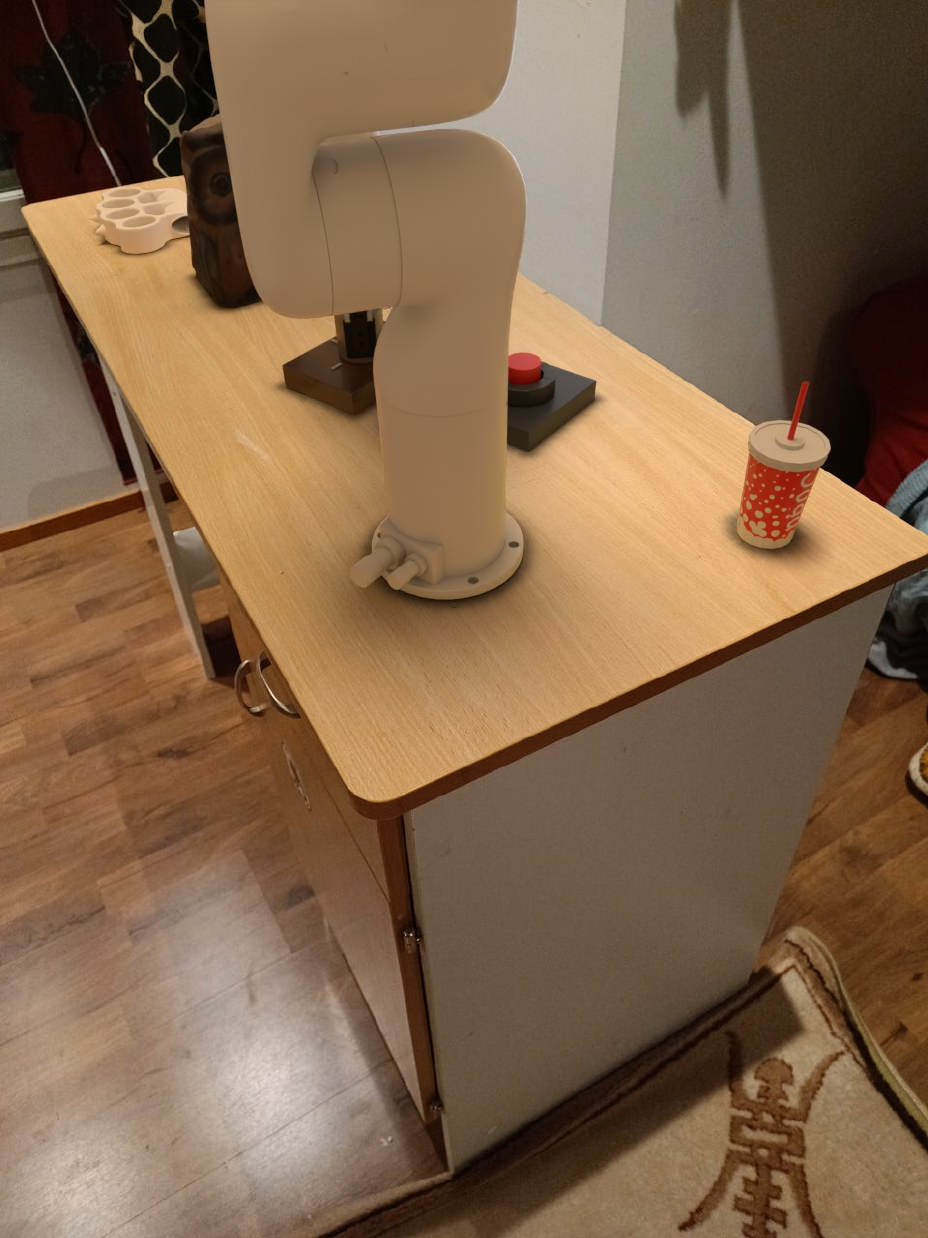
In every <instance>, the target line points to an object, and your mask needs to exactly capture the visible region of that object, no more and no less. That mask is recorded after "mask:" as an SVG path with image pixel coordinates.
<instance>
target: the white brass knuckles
mask: <svg viewBox="0 0 928 1238" xmlns="http://www.w3.org/2000/svg"><path fill="white" fill-rule="evenodd" d="M88 220H90V221H93V222H94V223H97V224H99V225H100V226H99V227H98V228H97V229H96V230H95V231H94V232H93V234H94V235H100V236H104V239H105V241H107V242H108V243H110V244H111V245H115V246H119V247H120V251H121V252H123V253H125V254H131V255H141V254H149V253H152V252H155V251H158V250H160V249H162V248H163V247H164V246H165V244H166V243H167V242H169V241H171V240H174V239H179V238H185V237H188V236H190V234H189V224H188V215H187V192H186V191H183V190H181V189H179V188H177V187H175V188H173V187H163V188H157V189H143V188H142V187H138V186H121V187H115V188H112V189H108V190H106V191H104V192H102V194H101V201H100V202H98V203H97V205H96V207H95V214H92V216H91V217H89V218H88Z"/></svg>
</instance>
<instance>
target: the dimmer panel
mask: <svg viewBox="0 0 928 1238" xmlns="http://www.w3.org/2000/svg"><path fill="white" fill-rule="evenodd" d="M385 321H386V320H383V325H384V323H385ZM281 367H282V373H283V379H284V385H285V388H289V389H290V390H293V391H295V392H298V393H301V394H302V395H305V396H308V397H310V398H312V399H314V400H317V401H319V402H321V403H324V404H326V405H329V406H331V407H334V408H335V409H338V410H341V411H343V412H345V413H348V414H350V415H352V416H356V415H357V414H359V413H361V412H362V411H364V410H365V409H367V408H368V407H370V406H372V405H373V404H375V403H376V392H375V386H374V375H373V361H372V362H368V363H351V362H347V361H345V360H343V359H342V358H341V357H340V356H339V352H338V344H337V336H336V335H335V336H333V337H331V338H329V339H328V340H326V341H324V342H322V343H320V344H319V345H316V346H315V347H313V348H311V349H310V350H307V351H305V352H304V353H302V354H300V355H298V356H296V357H294V358H293V359H290V360H289V361H287V362H285V363H284V364H282V365H281Z"/></svg>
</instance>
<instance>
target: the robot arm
mask: <svg viewBox="0 0 928 1238" xmlns="http://www.w3.org/2000/svg"><path fill="white" fill-rule="evenodd" d="M520 1H521V0H204V1H203V2H204V13H205V14H204V15H205V25H206V33H207V34H206V35H207V40H208V48H209V56H210V57H209V58H210V63H211V64H210V65H211V71H212V75H213V81H214V87H215V92H216V93H215V94H216V98H217V99H216V100H217V105H218V111H219V114H220V117H221V122H222V128H223V134H224V140H225V146H226V152H227V157H228V163H229V169H230V175H231V181H232V187H233V192H234V198H235V204H236V210H237V216H238V222H239V228H240V233H241V238H242V244H243V249H244V254H245V258H246V262H247V265H248V269H249V272H250V275H251V278H252V281H253V283H254V286H255V288H256V290H257V292H258V294H259V296H260V297H261V299H262V300H261V301H262V302H263V303H264V304H265V306H266V307H268V308H269V309H270V310H271V311H272V312H274V313H275V314H277V315H279V316H281V317H284V318H287V319H295V320H307V319H308V320H309V319H319V318H325V317H332V316H333V317H334V315H341V314H344V316H345V320H343V328H344V336H345V344H346V352H347V357H348V358H349V359H355V358H368V357H374V360H373V375H374V386H375V392H376V402H375V403H376V412H377V421H378V430H379V431H378V432H379V433H378V434H379V440H380V450H381V451H380V452H381V462H382V471H383V482H384V491H385V492H384V493H385V502H386V503H385V504H386V510H387V511H386V512H387V516H385V517H384V518H383V520H381V522H379V524H378V526H377V527H376V529H375V531H374V532H373V536H372V539H371V553H370V554H368V555H364V557H362V558H361V559H360V560H358V561H357V562H356V563H354V564H353V565H352V566H351V567H350V568H349V570H348V571H349V576H350V578H351V581H353V582H354V584H355V585H356V586H357V587H359V588H361V589H366V588H367V587H369V586H370V585H371V584H372V583H373V582H375V581H376V580H377V579H379V578H380V577H382V578H383V579H384V580H385V581H386V582H387V583H388V585H389V586H390V587H391V588H392V589H394V590H396V591H398V590H400V591H403V592H404V593H407V594H410V595H413V596H417V597H420V598H423V599H424V598H425V599H432V600H459V599H467V598H470V597H471V598H472V597H474V596H478V595H481V594H484V593H487V592H489V591H491V590H493V589H495V588H497V587H499V586H500V585H502V584H503V583H505V582H507V580H509V578H511V577H512V576H513V575H514V574H515V573H516V571H517V570H518V568H519V567H520V565H521V562H522V559H523V556H524V546H525V542H524V541H525V540H524V534H523V531H522V529H521V526H520V525H519V523H518V521H516V519H515V518H514V517H513V516H512V515H511V514H510V513H509V512H508V511H506V509H507V508H506V507H507V505H506V503H507V501H506V500H507V456H508V454H507V453H508V452H507V451H508V450H507V449H508V444H507V404H508V359H509V355H510V352H509V351H510V335H511V322H512V321H511V320H512V309H513V301H514V295H515V289H516V283H517V277H518V274H519V273H518V272H519V268H520V262H521V258H522V253H523V248H524V243H525V235H526V229H527V221H528V220H527V218H528V198H527V189H526V188H527V187H526V183H525V179H524V175H523V172H522V169H521V167H520V165H519V163H518V161H517V159H516V157H515V156H514V154H513V152H511V150H510V149H509V148H508V147H506V146H505V145H504V144H503V143H502V142H501V141H499V140H498V139H496V138H495V137H493V136H491V135H489V134H486V133H484V132H480V131H476V130H471V129H464V128H463V129H462V128H435V129H424V130H414V131H405V132H397V133H389V134H382V135H381V132H382V131H383V132H384V131H391V130H392V131H393V130H402V129H410V128H416V127H426V126H427V127H428V126H433V125H440V124H446V123H453V122H456V121H460V120H464V119H468V118H472V117H474V116H477V115H479V114H482V113H484V112H486V111H487V110H489V109H490V108H492V107H493V106H494V105H495V104H496V103H497V102H498V101H499V100H500V98H501V97H502V95H503V93H504V90H505V89H506V87H507V85H508V81H509V79H510V74H511V70H512V66H513V63H514V62H513V60H514V55H515V49H516V43H517V32H518V25H519V16H520V15H519V13H520ZM380 308H382V309H385V308H391V310H390V311H389V313H388V315H387V317H386V319H385V320H384V321H385V323H384V325H383V327H382V330H381V332H380V335H379V337H378V340H377V337H376V326H375V317H374V318H372V310H373V309H380ZM366 313H367V314H366Z"/></svg>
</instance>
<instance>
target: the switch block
mask: <svg viewBox="0 0 928 1238" xmlns="http://www.w3.org/2000/svg"><path fill="white" fill-rule="evenodd" d="M596 388H597V380H596V379H594V378H590V377H588V376H587V377H586V376H583V375H582V374H579V373H575V372H572V371H570V370H566V369H563V368H561V367H559V366H556V365H552V364H549V363H548V362H545V361H543V360H541V379H540V381H538V382H536V383H532V384H528V385H519V384H513V383H510V382H508V404H507V445H509V446H512V447H515V448H517V449H520V450H522V451H524V452H526V453H529V452H530V451H531V450H533V449H534V448H535V447H537V446H538V445H539V444H541V443H542V442H543V441H544V440H545V439H546V438H548V437H549V436H550V435H551V434H553V433H554V432H556V430H558V429H559V428H560V427H562V426H564V424H566V423H567V422H568V421H570V420H571V419H572V418H573V417H575V416H576V415H577V414H578V413H580V412H581V411H582V410H583V409H584V408H586V407H587V406H588V405H590V404H591V403H593V401H595V399H596Z"/></svg>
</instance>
